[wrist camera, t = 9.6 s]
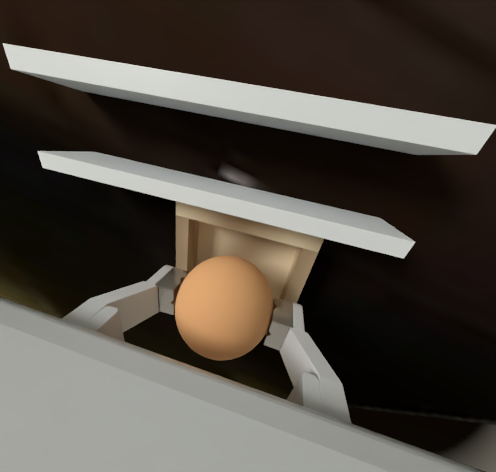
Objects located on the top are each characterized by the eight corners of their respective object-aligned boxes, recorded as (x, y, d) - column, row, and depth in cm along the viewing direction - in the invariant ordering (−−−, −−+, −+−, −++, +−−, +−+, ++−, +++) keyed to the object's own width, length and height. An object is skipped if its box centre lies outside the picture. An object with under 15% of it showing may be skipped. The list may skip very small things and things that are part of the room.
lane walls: (426, 135, 8) (497, 125, 5) (372, 231, 10) (403, 258, 7) (80, 73, 10) (2, 43, 7) (97, 164, 12) (42, 167, 9)
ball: (285, 252, 10) (283, 328, 6) (266, 311, 12) (253, 398, 8) (204, 231, 11) (145, 285, 6) (200, 291, 13) (154, 362, 9)
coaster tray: (318, 226, 11) (324, 239, 9) (282, 318, 14) (281, 338, 13) (191, 195, 11) (175, 201, 10) (188, 289, 15) (176, 304, 13)
